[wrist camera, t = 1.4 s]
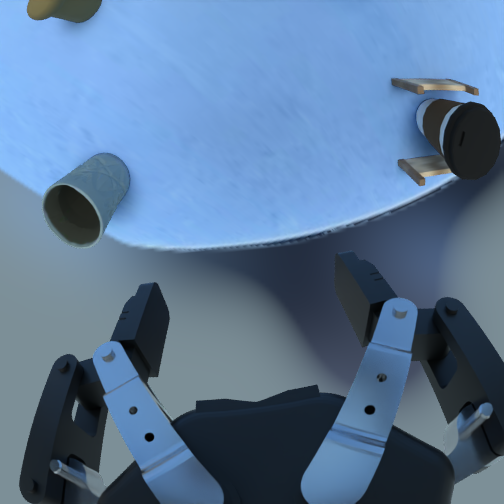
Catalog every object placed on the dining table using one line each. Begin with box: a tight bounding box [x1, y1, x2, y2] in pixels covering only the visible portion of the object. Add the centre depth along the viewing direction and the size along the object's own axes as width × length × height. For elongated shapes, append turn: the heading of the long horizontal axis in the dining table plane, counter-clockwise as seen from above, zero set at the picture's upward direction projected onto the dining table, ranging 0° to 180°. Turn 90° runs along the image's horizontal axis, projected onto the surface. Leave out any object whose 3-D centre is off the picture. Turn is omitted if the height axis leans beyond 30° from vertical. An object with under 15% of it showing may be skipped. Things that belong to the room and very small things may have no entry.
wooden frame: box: [392, 78, 479, 186], centre depth 29 cm, size 12×14×7 cm
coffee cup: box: [416, 99, 501, 180], centre depth 27 cm, size 11×11×12 cm
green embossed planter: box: [42, 153, 130, 249], centre depth 34 cm, size 10×10×12 cm
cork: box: [27, 0, 102, 23], centre depth 15 cm, size 6×6×11 cm
